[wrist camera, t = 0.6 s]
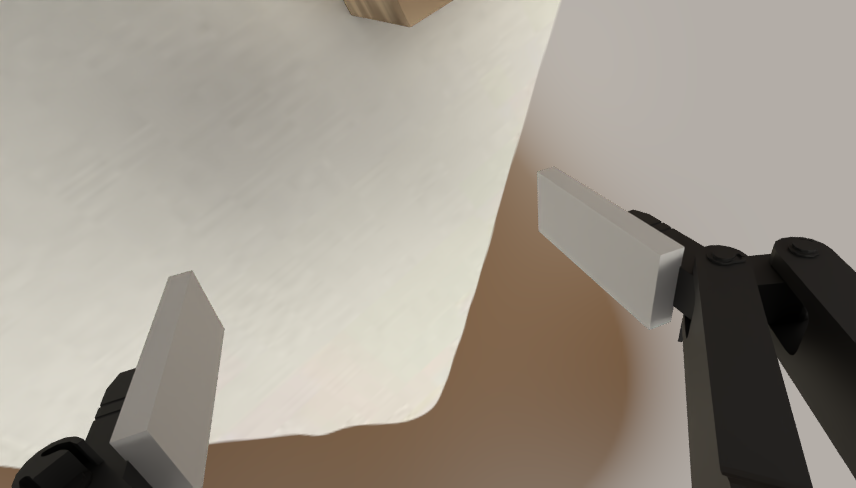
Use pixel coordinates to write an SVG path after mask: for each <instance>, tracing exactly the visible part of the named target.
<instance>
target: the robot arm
mask: <svg viewBox="0 0 856 488" xmlns="http://www.w3.org/2000/svg"><path fill="white" fill-rule="evenodd" d="M537 183H538V221H539V232H541V233H542V234H543V235H544V236H545V237H546V238H547V239H548V240H549V241H551V242H552V243H553V244H554V245H555V246H556V247H557V248H558V249H559V250H561V251H562V252H563V253H564V254H565V255H566V256H567V257H568V258H570V259H571V260H572V261H573V262H574V263H575V264H576V265H577V266H578V267H580V268H581V269H582V270H583V271H584V272H585V273H586V274H587V275H588V276H590V277H591V278H592V279H593V280H594V281H595V282H596V283H597V284H599V285H600V286H601V287H602V288H603V289H604V290H605V291H606V292H608V293H609V294H610V295H611V296H612V297H613V298H614V299H615V300H616V301H618V302H619V303H620V304H621V305H622V306H623V307H624V308H625V309H626V310H627V311H629V312H630V313H631V314H632V315H633V316H634V317H635V318H636V319H638V320H639V321H640V322H641V323H642V324H643V325H644V326H645V327H646V328H648V329H649V330H650V329H653V328H656V327H658V326H661V325H664V324H667V323H669V322H671V318H672V312H673V307H675V308H677V309H678V310H679V311H680V312H682V313H683V319H682V324H681V329H680V334H679V339H678V341H679V342H682V341H683V352H684V368H685V383H686V401H687V417H688V432H689V448H690V465H691V481H692V488H813V486H812V483H811V480H810V475H809V472H808V468H807V465H806V461H805V457H804V454H803V450H802V446H801V443H800V439H799V435H798V432H797V428H796V424H795V421H794V417H793V413H792V410H791V407H790V403H789V399H788V395H787V392H786V388H785V384H784V381H783V377H782V374H781V370H780V367H779V363H778V359H779V361H780V362H781V364H782V365H783V367H784V368H785V370H786V372H787V373H788V375H789V376H790V378H791V379H792V381H793V383H794V384H795V385H796V387H797V389H798V390H799V392H800V393H801V395H802V397H803V398H804V400H805V401H806V403H807V404H808V406H809V407H810V409H811V411H812V412H813V414H814V415H815V417H816V418H817V420H818V421H819V423H820V424H821V426H822V427H823V429H824V431H825V432H826V434H827V435H828V437H829V439H830V440H831V442H832V443H833V445H834V446H835V448H836V449H837V451H838V453H839V454H840V456H841V457H842V459H843V460H844V462H845V463H846V465H847V466H848V468H849V469H850V471H851V473H852V474H853V476H854V478H855V479H856V272H855V271H854V270H853V269H852V268H851V267H850V266H849V265H848V264H846V263H845V261H843V260H842V259H841V258H840V257H839V256H838V255H837V254H836V253H835V252H834V251H833V250H832V249H831V248H829V247H828V246H826V245H825V244H823V243H820V242H817V241H815V240H813V239H809V238H808V239H807V238H803V237H788V238H782V239H780V240H778V241H776V242H775V244H774V247H773V250H772V253H771V254H765V255H755V256H747V255H746V254H744V253H743V252H741V251H740V250H737V249H734V248H731V247H727V246H721V245H710V246H706V247H704V246H702V245H700V244H699V243H697V242H695V241H694V240H692V239H690V238H688V237H687V236H685V235H683V234H682V233H680V232H678V231H677V230H675V229H671V227H670V226H668V225H667V224H665V223H661V221H660V220H658V219H656V218H655V217H653V216H651V215H650V214H647V213H643V212H640V211H636V210H631V211H628V212H627V211H626V210H624V209H622V208H621V207H619V206H618V205H616V204H614V203H612V202H611V201H609V200H608V199H606V198H605V197H603V196H601V195H600V194H598V193H597V192H595V191H593V190H592V189H590V188H588V187H586V186H585V185H584V184H582V183H580V182H579V181H577V180H575V179H574V178H572V177H571V176H569V175H567V174H566V173H564V172H563V171H561V170H559V169H558V168H556V167H551V168H548V169H544V170H541V171H538V172H537ZM223 336H224V327H223V325H222V324H221V322H220V320H219V318H218V316H217V315H216V313H215V311H214V309H213V307H212V305H211V304H210V302H209V300H208V298H207V296H206V295H205V293H204V291H203V289H202V287H201V285H200V284H199V282H198V280H197V278H196V276H195V275H194V273H193V271H192V270H191V271H188V272H184V273H181V274H177V275H174V276H170V277H169V278H168V281H167V283H166V286H165V289H164V292H163V295H162V297H161V300H160V303H159V306H158V309H157V311H156V314H155V317H154V320H153V322H152V325H151V328H150V331H149V334H148V336H147V339H146V342H145V345H144V348H143V350H142V353H141V356H140V359H139V361H138V364H137V367H136V368H134V369H131V370H128V371H125V372H122V373H120V374H119V375H118V376H117V377H116V379H115V380H114V381H113V382H112V383H111V385H110V386H109V387H108V388H107V389H106V392H105V394H104V397H103V399H102V402H101V404H100V406H101V407H100V408H99V409H98V411H97V414H96V416H95V421H93V423H92V426H91V428H90V430H89V433H88V435H87V438H86V440H84V439H82V438H79V437H76V436H75V437H66V438H63V439H61V440H58V441H56V442H53V443H51V444H49V445H48V446H46V447H45V448H43V449H42V450H40V451H38V452H37V453H36V454H35V455H34V456H33V457H32V458H30V459H29V460H28V461H27V462H26V463H25V464H24V465H23V467H22V468H21V469H20V470H19V472H18V473H17V474H16V476H15V479H14V481H13V484H12V488H202V487H203V479H204V472H205V465H206V458H207V451H208V444H209V437H210V429H211V422H212V415H213V408H214V401H215V393H216V386H217V379H218V372H219V365H220V357H221V350H222V343H223ZM777 358H778V359H777Z"/></svg>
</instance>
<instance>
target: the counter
mask: <svg viewBox="0 0 856 488" xmlns="http://www.w3.org/2000/svg"><path fill="white" fill-rule="evenodd" d="M343 1H344V2H345V4H346V6H347V8H348V10H349V11H350V13H351V15H353V16H358V17H363V18H368V19H373V20H378V21H383V22H387V23H392V24H397V25H402V26H407V27H412V26H413V25H415V24H417V23H418V22H420V21H421V20H423V19H424V18H426V17H428V16H429V15H431V14H432V13H434V12H435V11H437V10H439V9H440V8H442V7H443V6H445V5H446V4H448V3H449V2H451V1H453V0H343Z"/></svg>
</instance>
